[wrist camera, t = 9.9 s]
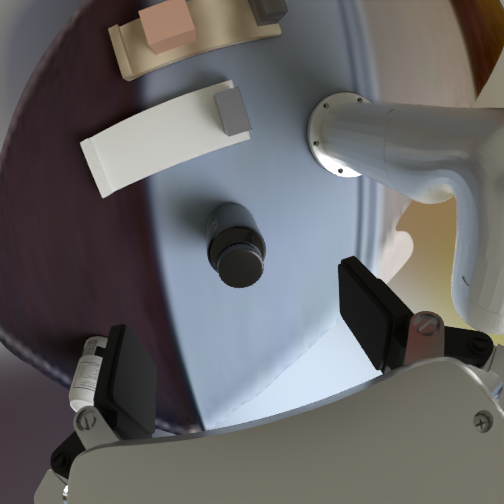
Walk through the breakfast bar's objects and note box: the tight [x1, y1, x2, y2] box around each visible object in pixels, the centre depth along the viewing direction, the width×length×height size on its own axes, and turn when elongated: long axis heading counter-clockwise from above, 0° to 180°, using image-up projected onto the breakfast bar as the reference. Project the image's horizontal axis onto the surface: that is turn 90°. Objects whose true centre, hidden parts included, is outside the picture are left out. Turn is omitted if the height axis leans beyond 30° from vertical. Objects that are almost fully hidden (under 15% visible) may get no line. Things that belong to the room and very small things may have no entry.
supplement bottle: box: [206, 204, 266, 288], centre depth 33 cm, size 7×7×12 cm
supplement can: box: [69, 336, 108, 412], centre depth 39 cm, size 8×8×15 cm
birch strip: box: [108, 0, 288, 81], centre depth 22 cm, size 20×8×7 cm, turn 107°
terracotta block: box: [138, 0, 196, 55], centre depth 21 cm, size 5×5×5 cm
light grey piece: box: [80, 80, 252, 198], centre depth 28 cm, size 20×8×7 cm, turn 107°
